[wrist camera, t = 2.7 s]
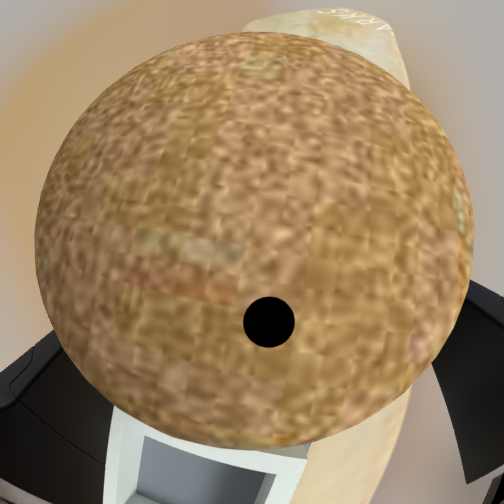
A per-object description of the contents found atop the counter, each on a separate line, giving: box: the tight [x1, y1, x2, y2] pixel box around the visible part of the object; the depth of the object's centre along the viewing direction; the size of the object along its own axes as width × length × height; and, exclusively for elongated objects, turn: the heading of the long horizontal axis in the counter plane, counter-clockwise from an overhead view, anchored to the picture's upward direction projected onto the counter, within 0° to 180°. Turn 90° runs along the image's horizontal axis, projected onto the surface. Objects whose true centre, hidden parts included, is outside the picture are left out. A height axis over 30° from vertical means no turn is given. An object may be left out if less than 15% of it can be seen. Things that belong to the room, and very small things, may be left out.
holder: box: [103, 405, 311, 504], centre depth 12 cm, size 12×12×4 cm
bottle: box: [35, 32, 474, 451], centre depth 10 cm, size 6×6×15 cm
